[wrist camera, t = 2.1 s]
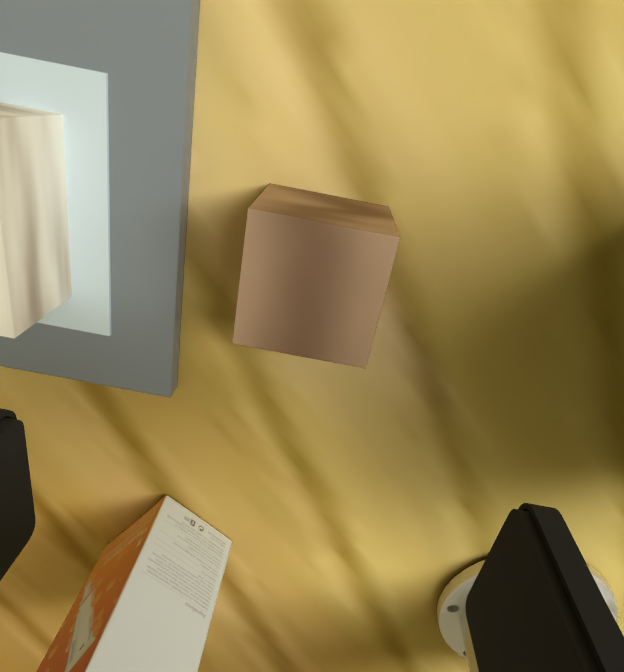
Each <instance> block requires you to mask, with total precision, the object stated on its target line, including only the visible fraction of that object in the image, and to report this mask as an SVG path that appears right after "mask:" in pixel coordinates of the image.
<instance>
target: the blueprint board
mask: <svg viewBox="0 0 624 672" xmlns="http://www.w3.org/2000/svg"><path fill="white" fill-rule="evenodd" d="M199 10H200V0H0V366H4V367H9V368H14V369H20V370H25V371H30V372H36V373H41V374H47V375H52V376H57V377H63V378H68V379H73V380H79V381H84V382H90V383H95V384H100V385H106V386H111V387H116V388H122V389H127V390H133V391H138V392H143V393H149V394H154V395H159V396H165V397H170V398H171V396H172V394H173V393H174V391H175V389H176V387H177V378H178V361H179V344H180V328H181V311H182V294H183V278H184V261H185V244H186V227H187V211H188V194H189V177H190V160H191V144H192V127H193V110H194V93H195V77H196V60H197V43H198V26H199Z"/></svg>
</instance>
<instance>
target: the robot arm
mask: <svg viewBox="0 0 624 672" xmlns="http://www.w3.org/2000/svg"><path fill="white" fill-rule="evenodd" d="M34 527H35V512H34V504H33V496H32V487H31V479H30V471H29V463H28V455H27V447H26V439H25V431H24V425H23V422H22V421H20V420H17V418H16V414H15V413H14V412H13V411H10V410H6V409H0V581H1V579H2V578H3V576H4V575H5V573H6V572H7V571H8V569H9V568H10V566H11V565H12V564H13V562H14V561H15V559H16V558H17V556H18V555H19V554H20V552H21V551H22V549H23V548H24V546H25V545H26V544H27V542H28V541H29V539H30V537H31V535H32V533H33V530H34ZM617 615H618V608H617V601H616V599H615V597H614V595H613V593H612V591H611V589H610V587H609V585H608V584H607V582H606V581H605V579H604V578H603V576H602V575H600V574H599V573H598V572H597V571H596V570H595V569H593V568H592V567H591V566H589V565H587V564H586V562H585V560H584V558H583V556H582V554H581V552H580V550H579V548H578V546H577V545H576V543H575V541H574V539H573V537H572V535H571V533H570V531H569V529H568V527H567V525H566V523H565V521H564V519H563V517H562V515H561V514H560V512H559V511H558V510H557V509H555V508H550V507H545V506H539V505H534V504H528V503H524V504H522V505H521V506H520V507H519V509H518V510H517V509H513V510H511V511H510V513H509V515H508V517H507V519H506V521H505V523H504V524H503V526H502V528H501V530H500V532H499V534H498V536H497V538H496V540H495V542H494V544H493V546H492V548H491V550H490V552H489V554H488V556H487V558H486V559H485V560H483V561H480V562H478V563H476V564H474V565H472V566H470V567H468V568H466V569H465V570H463V571H462V572H461V573H459V574H458V575H457V576H455V577H454V578H453V579H452V580H451V581H450V582H449V584H448V585H447V586H446V587H445V588H444V590H443V592H442V594H441V595H440V597H439V601H438V605H437V618H438V623H439V628H440V632H441V635H442V636H443V638H444V640H445V642H446V643H447V644H448V645H449V646H450V647H451V649H452V650H453V651H455V652H456V653H457V654H459V655H460V656H462V657H463V658H465V659H467V662H468V666H469V671H470V672H624V636H623V635H622V633H621V631H620V629H619V627H618V625H617V623H616V620H617Z"/></svg>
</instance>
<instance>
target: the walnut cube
mask: <svg viewBox="0 0 624 672" xmlns="http://www.w3.org/2000/svg"><path fill="white" fill-rule="evenodd" d="M399 241H400V236H399V233H398V230H397V228H396V225H395V222H394V220H393V217H392V214H391V211H390V209H389V207H388V206H383V205H378V204H373V203H368V202H363V201H357V200H352V199H347V198H342V197H337V196H332V195H327V194H322V193H317V192H311V191H306V190H301V189H296V188H291V187H286V186H281V185H276V184H271V183H270V184H269V185H268V186H267V187H266V189H265V190H264V191H263V192H262V193H261V194H260V195H259V196H258V198H257V199H256V200H255V201H254V202H253V203H252V204H251V205H250V207H249V208H248V213H247V222H246V230H245V239H244V247H243V256H242V265H241V273H240V282H239V290H238V299H237V308H236V316H235V325H234V333H233V342H232V343H233V344H238V345H243V346H248V347H254V348H259V349H264V350H270V351H275V352H280V353H286V354H291V355H296V356H302V357H307V358H312V359H318V360H323V361H328V362H333V363H339V364H344V365H349V366H355V367H360V368H365V369H366V365H367V361H368V357H369V354H370V350H371V346H372V342H373V339H374V335H375V331H376V327H377V324H378V320H379V316H380V312H381V308H382V305H383V301H384V297H385V293H386V290H387V286H388V282H389V278H390V275H391V271H392V267H393V263H394V259H395V256H396V252H397V248H398V244H399Z"/></svg>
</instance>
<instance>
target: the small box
mask: <svg viewBox="0 0 624 672" xmlns="http://www.w3.org/2000/svg"><path fill="white" fill-rule="evenodd" d="M231 545H232V541H231V540H230V539H228V538H227V537H226V536H224V535H223V534H222V533H220V532H219V531H217V530H216V529H215V528H213V527H212V526H210V525H209V524H208V523H206V522H205V521H203V520H202V519H201V518H199V517H198V516H196V515H195V514H194V513H192V512H191V511H189V510H188V509H186V508H185V507H183V506H182V505H181V504H179V503H178V502H176V501H175V500H173V499H172V498H171V497H169V496H167V495H166V496H164V497H163V498H162V499H161V500H160V501H159V502H158V503H157V504H156V505H155V506H153V507H152V508H151V509H150V510H149V511H148V512H146V513H145V514H144V515H143V516H142V517H140V518H139V519H138V520H137V521H136V522H135V523H133V524H132V525H131V526H130V527H128V528H127V529H126V530H125V531H124V532H122V533H121V534H120V535H119V536H117V537H116V538H115V539H113V540H112V541H111V542H110V543H108V544H107V545H106V546H105V548H104V549H103V551H102V553H101V555H100V557H99V559H98V561H97V562H96V564H95V566H94V568H93V570H92V571H91V573H90V575H89V577H88V579H87V581H86V582H85V584H84V586H83V588H82V590H81V592H80V594H79V595H78V597H77V599H76V601H75V603H74V604H73V606H72V608H71V610H70V612H69V614H68V615H67V617H66V619H65V621H64V623H63V624H62V626H61V628H60V630H59V632H58V634H57V635H56V637H55V639H54V641H53V643H52V645H51V646H50V648H49V650H48V652H47V654H46V655H45V657H44V659H43V661H42V663H41V664H40V666H39V668H38V670H37V672H198V668H199V664H200V660H201V656H202V653H203V649H204V645H205V641H206V638H207V634H208V630H209V626H210V622H211V618H212V615H213V611H214V607H215V603H216V600H217V596H218V592H219V588H220V585H221V581H222V578H223V574H224V571H225V567H226V563H227V559H228V556H229V552H230V548H231Z"/></svg>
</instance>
